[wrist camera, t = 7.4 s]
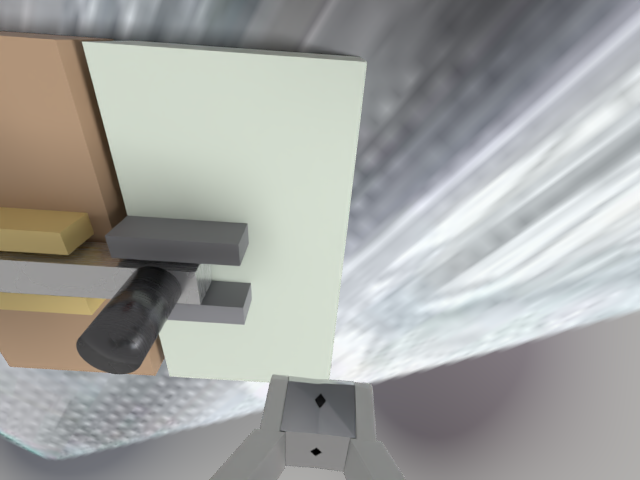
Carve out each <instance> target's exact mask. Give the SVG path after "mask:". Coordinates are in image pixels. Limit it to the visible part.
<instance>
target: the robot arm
mask: <svg viewBox="0 0 640 480" xmlns="http://www.w3.org/2000/svg"><path fill="white" fill-rule="evenodd" d="M285 466H297V467H310V468H314V467H315V468H320V469H327V470H335V471H343V472H344V475H345V478H346V480H406V479H405V477H404V476H403V474H402V473H401V471H400V469H399V468H398V466H397V465H396V463H395V462H394V460H393V458H392V457H391V455H390V454H389V452H388V451H387V449H386V448H385V446H384V445H383V443H382V442H380V441H377V440H376V426H375V414H374V400H373V388H372V385H371V383H359V382H354V381H341V380H328V379H313V378H304V377H294V376H287V375H276V374H273V375H272V377H271V380H270V384H269V389H268V393H267V398H266V403H265V407H264V412H263V417H262V421H261V426H260V429H254V431H252V433H251V434H250V435H249V436H248V437H247V438H246V439H245V440H244V442H243V443H242V444H241V445H240V446H239V447H238V448H237V449H236V451H235V452H234V453H233V454H232V455H231V456H230V457H229V458H228V459H227V461H226V462H225V463H224V464H223V465H222V466H221V467H220V468H219V470H218V471H217V472H216V473H215V474H214V475H213V476H212V477H211V479H210V480H277V479H278V478H279V476H280V475H281V473H282V471H283V470H284V469H285Z"/></svg>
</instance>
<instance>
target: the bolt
mask: <svg viewBox="0 0 640 480" xmlns="http://www.w3.org/2000/svg"><path fill="white" fill-rule="evenodd" d="M212 280H213V279H212V272H211V264H198V263H183V262H167V261H152V260H136V259H121V258H111V254H110V251H109V248H108V245H107V243H106V242H91V241H85V242H84V243H82V244H81V245H80V246H79V247H78V248H76V249H75V250H74V251H73V252H72V253H70V254H69V255H59V254H44V253H28V252H13V251H0V292H7V293H23V294H39V295H55V296H70V297H86V298H102V299H111V300H110V301H109V302H108V303H107V305H106V306H105V307H104V308H103V309H102V311H101V312H100V313H99V314H98V315H97V317H96V318H95V319H94V320H93V321H92V323H91V324H90V325H89V326H88V327H87V329H86V330H85V331H84V332H83V333H82V335H81V336H80V337H79V338H78V340H77V343H76V348H77V351H78V353H79V355H80V356H81V357H82V358H83V360H85V361H86V362H87V363H88V364H90V365H91V366H93V367H95V368H97V369H99V370H101V371H104V372H108V373H112V374H128V373H131V372H134V371H136V370H137V369H138V368H139V367H140V366H141V364H142V362H143V361H144V359H145V357H146V355H147V354H148V352H149V350H150V349H151V347H152V345H153V343H154V342H155V340H156V338H157V336H158V335H159V333H160V331H161V329H162V328H163V326H164V324H165V322H166V321H167V319H168V317H169V315H170V314H171V312H172V310H173V309H174V307H175V305H176V303H181V304H196V305H201V303H202V301H203V299H204V297H205V295H206V292H207V290H208V288H209V286H210V284H211V282H212Z"/></svg>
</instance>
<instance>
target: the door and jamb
mask: <svg viewBox="0 0 640 480" xmlns="http://www.w3.org/2000/svg"><path fill="white" fill-rule="evenodd" d="M366 67H367V62H366V61H365V60H363V59H362V58H360V57H355V56H341V55H327V54H313V53H299V52H286V51H272V50H258V49H244V48H230V47H216V46H202V45H188V44H174V43H160V42H146V41H113V39H105V38H91V37H77V36H63V35H49V34H35V33H21V32H7V31H0V251H13V252H28V253H44V254H59V255H69V254H70V253H72V252H73V251H74V250H75V249H76V248H78V247H79V246H80V245H81V244H82V243H84V242H85V241H91V242H106V243H107V245H108V248H109V251H110V254H111V258H121V259H136V260H152V261H167V262H183V263H198V264H211V272H212V279H213V280H212V282H211V284H210V286H209V288H208V290H207V292H206V295H205V297H204V299H203V301H202V303H201V305H196V304H181V303H176V305H175V307H174V309H173V310H172V312H171V314H170V315H169V317H168V319H167V321H166V322H165V324H164V326H163V328H162V329H161V331H160V333H159V335H158V336H157V338H156V340H155V342H154V343H153V345H152V347H151V349H150V350H149V352H148V354H147V355H146V357H145V359H144V361H143V362H142V364H141V366H140V367H139V368H138V369H137V370H136V371H134V372H131V373H128V374H138V375H154V376H155V375H156V374H157V372H158V370H159V368H160V366H161V364H162V362H163V360H164V358H165V360H166V363H167V367H168V371H169V375H170V376H171V377H187V378H204V379H220V380H236V381H253V382H269V383H270V380H271V377H272V375H273V374H276V375H287V376H294V377H304V378H313V379H328V380H329V377H330V369H331V361H332V352H333V344H334V335H335V327H336V319H337V310H338V302H339V293H340V285H341V277H342V268H343V260H344V251H345V243H346V235H347V226H348V218H349V209H350V201H351V193H352V184H353V176H354V168H355V159H356V151H357V142H358V134H359V126H360V117H361V109H362V100H363V92H364V84H365V75H366ZM110 300H111V299H102V298H86V297H70V296H55V295H39V294H23V293H7V292H0V352H1V354H2V355H3V357H4V358H5V360H6V361H7V363H8V365H9V366H10V367H24V368H40V369H56V370H73V371H89V372H104V371H101V370H99V369H97V368H95V367H93V366H91V365H90V364H88V363H87V362H86V361H85V360H83V358H82V357H81V356H80V355H79V353H78V351H77V348H76V343H77V340H78V338H79V337H80V336H81V335H82V333H83V332H84V331H85V330H86V329H87V327H88V326H89V325H90V324H91V323H92V321H93V320H94V319H95V318H96V317H97V315H98V314H99V313H100V312H101V311H102V309H103V308H104V307H105V306H106V305H107V303H108V302H109V301H110ZM105 373H108V372H105Z"/></svg>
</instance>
